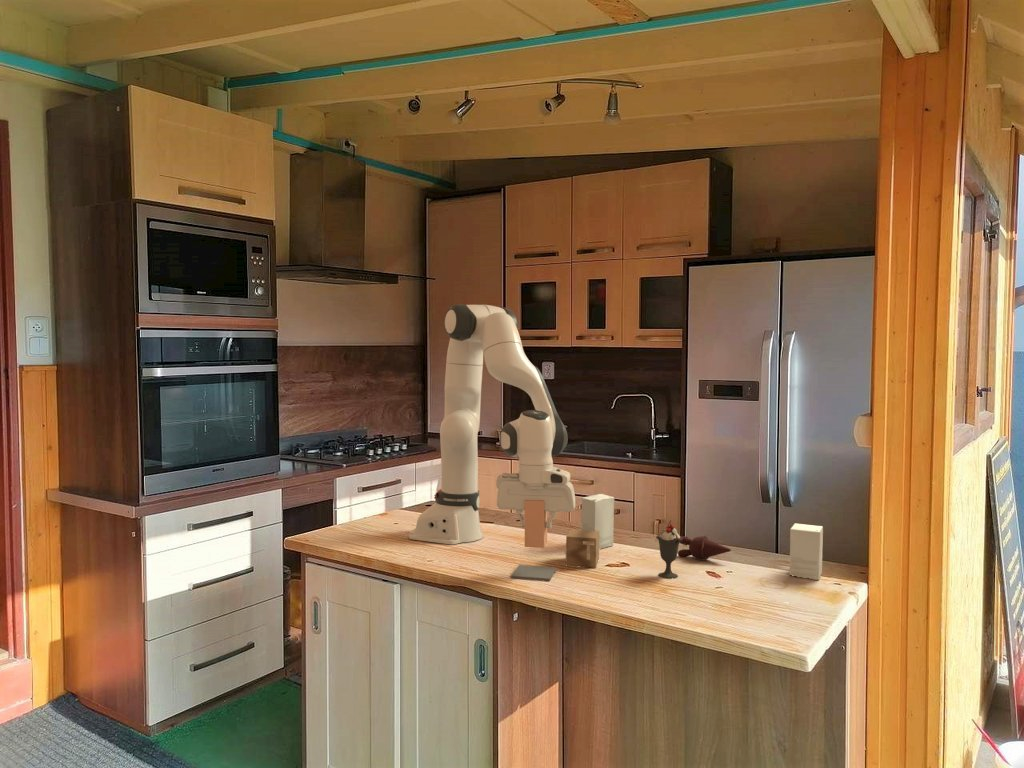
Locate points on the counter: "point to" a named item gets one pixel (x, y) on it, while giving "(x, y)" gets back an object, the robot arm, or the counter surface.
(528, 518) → the terracotta pillar
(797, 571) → the supplement box
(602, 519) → the skincare box
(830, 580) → the counter surface
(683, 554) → the icecream
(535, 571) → the grey mat
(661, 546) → the sundae
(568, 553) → the lettered block
